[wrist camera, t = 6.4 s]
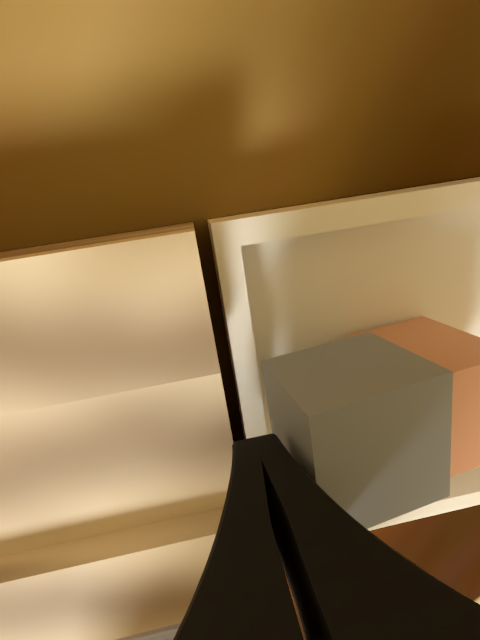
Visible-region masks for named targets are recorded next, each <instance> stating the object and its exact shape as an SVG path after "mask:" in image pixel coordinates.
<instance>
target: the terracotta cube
mask: <svg viewBox="0 0 480 640" xmlns="http://www.w3.org/2000/svg"><path fill="white" fill-rule="evenodd" d="M367 332H371V333H373V334H375V335H377V336H379V337H381V338H383V339H385V340H388V341H390V342H392V343H394V344H396V345H398V346H400V347H402V348H404V349H407V350H409V351H411V352H413V353H415V354H417V355H419V356H421V357H423V358H426V359H428V360H430V361H432V362H434V363H436V364H438V365H440V366H442V367H444V368H447V369H449V370H451V371H453V392H452V428H451V464H450V477H453V476H455V475H458V474H460V473H463V472H466V471H468V470H471V469H474V468H476V467H479V466H480V337H478V336H475V335H472V334H470V333H467V332H464V331H462V330H459V329H456V328H454V327H451V326H448V325H446V324H443V323H440V322H438V321H435V320H432V319H430V318H427V317H424V316H420V317H416V318H412V319H409V320H405V321H401V322H397V323H393V324H390V325H386V326H382V327H378V328H375V329H371V330H367V331H363V332H359V333H356V334H352V335H348V336H347V338H348V337H352V336H356V335H360V334H363V333H367Z"/></svg>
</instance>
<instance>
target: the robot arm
mask: <svg viewBox="0 0 480 640" xmlns="http://www.w3.org/2000/svg"><path fill="white" fill-rule="evenodd" d="M279 554H280V555H279ZM280 557H281V558H280ZM281 560H282V562H281ZM282 563H283V566H284V569H285V572H286V575H287V578H288V581H289V584H290V587H291V590H292V593H293V596H294V600H295V603H296V606H297V609H298V612H299V616H300V619H301V622H302V626H303V630H304V634H305V638H306V640H480V605H479V604H478V603H476V602H474V601H472V600H471V599H469V598H467V597H465V596H464V595H462V594H460V593H459V592H457V591H456V590H454V589H452V588H451V587H449V586H448V585H446V584H444V583H443V582H441V581H440V580H438V579H436V578H435V577H433V576H432V575H430V574H429V573H427V572H426V571H424V570H423V569H421V568H420V567H418V566H417V565H416V564H414V563H413V562H411V561H410V560H408V559H407V558H405V557H404V556H402V555H401V554H400V553H398V552H397V551H395V550H394V549H392V548H391V547H390V546H388V545H387V544H386V543H384V542H383V541H382V540H380V539H379V538H378V537H376V536H375V535H374V534H373V533H371V532H370V531H369V530H367V529H366V528H365V527H364V526H363V525H361V524H360V523H359V522H358V521H356V520H355V519H354V518H353V517H352V516H351V515H349V514H348V513H347V512H346V511H345V510H344V509H343V508H342V507H340V506H339V505H338V504H337V503H336V502H335V501H334V500H333V499H332V498H331V497H330V496H329V495H328V494H327V493H326V492H325V491H324V490H323V489H322V488H321V487H320V486H319V485H318V484H317V483H316V482H315V481H314V480H313V479H312V478H311V477H310V476H309V475H308V474H307V473H306V472H305V471H304V469H303V468H302V467H301V466H300V465H299V464H298V463H297V461H296V460H295V459H294V458H293V457H292V455H291V454H290V453H289V452H288V450H287V449H286V448H285V446H284V445H283V444H282V442H281V441H280V439H279V438H278V436H277V435H275V434H274V433H272V434H267V435H262V436H258V437H253V438H248V439H243V440H239V441H235V442H234V443H233V445H232V466H231V473H230V480H229V485H228V490H227V495H226V499H225V504H224V507H223V511H222V515H221V519H220V522H219V526H218V530H217V533H216V536H215V539H214V542H213V545H212V548H211V551H210V554H209V557H208V560H207V562H206V565H205V568H204V571H203V573H202V576H201V578H200V580H199V583H198V585H197V588H196V590H195V593H194V595H193V598H192V600H191V602H190V605H189V607H188V609H187V611H186V614H185V616H184V618H183V620H182V622H181V623H179V624H175V625H171V626H167V627H163V628H159V629H155V630H151V631H147V632H143V633H139V634H135V635H131V636H127V637H123V638H119V639H115V640H304V639H303V636H302V632H301V629H300V626H299V622H298V619H297V615H296V612H295V608H294V605H293V601H292V598H291V594H290V591H289V587H288V584H287V580H286V576H285V573H284V569H283V566H282Z"/></svg>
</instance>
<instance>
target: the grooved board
mask: <svg viewBox="0 0 480 640" xmlns="http://www.w3.org/2000/svg"><path fill="white" fill-rule="evenodd" d="M232 445H233V437H232V432H231V426H230V421H229V415H228V410H227V404H226V399H225V393H224V388H223V382H222V377H221V371H220V366H219V360H218V355H217V349H216V344H215V338H214V333H213V327H212V322H211V316H210V311H209V305H208V300H207V294H206V289H205V283H204V278H203V272H202V267H201V261H200V256H199V250H198V245H197V239H196V234H195V229H194V223H193V222H189V223H183V224H177V225H170V226H164V227H158V228H151V229H145V230H138V231H132V232H126V233H119V234H113V235H107V236H100V237H94V238H88V239H81V240H75V241H68V242H62V243H56V244H49V245H43V246H37V247H30V248H24V249H17V250H11V251H5V252H0V640H115V639H119V638H123V637H127V636H131V635H135V634H139V633H143V632H147V631H151V630H155V629H159V628H163V627H167V626H171V625H175V624H179V623H181V622H182V620H183V618H184V616H185V614H186V611H187V609H188V607H189V605H190V602H191V600H192V598H193V595H194V593H195V590H196V588H197V585H198V583H199V580H200V578H201V576H202V573H203V571H204V568H205V565H206V562H207V560H208V557H209V554H210V551H211V548H212V545H213V542H214V539H215V536H216V533H217V530H218V526H219V522H220V519H221V515H222V511H223V507H224V504H225V499H226V495H227V490H228V485H229V480H230V473H231V466H232Z"/></svg>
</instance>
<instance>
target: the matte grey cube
mask: <svg viewBox="0 0 480 640" xmlns="http://www.w3.org/2000/svg"><path fill="white" fill-rule="evenodd" d="M261 366H262V372H263V378H264V385H265V391H266V398H267V404H268V410H269V417H270V423H271V429H272V433H274V434H275V435H277V436H278V438H279V439H280V441H281V442H282V444H283V445H284V446H285V448H286V449H287V450H288V452H289V453H290V454H291V455H292V457H293V458H294V459H295V460H296V461H297V463H298V464H299V465H300V466H301V467H302V468H303V469H304V471H305V472H306V473H307V474H308V475H309V476H310V477H311V478H312V479H313V480H314V481H315V482H316V483H317V484H318V485H319V486H320V487H321V488H322V489H323V490H324V491H325V492H326V493H327V494H328V495H329V496H330V497H331V498H332V499H333V500H334V501H335V502H336V503H337V504H338V505H339V506H340V507H342V508H343V509H344V510H345V511H346V512H347V513H348V514H349V515H351V516H352V517H353V518H354V519H355V520H356V521H358V522H359V523H360V524H361V525H363V526H364V527H365V528H366V529H368V528H371V527H373V526H376V525H378V524H381V523H383V522H386V521H388V520H391V519H393V518H396V517H398V516H401V515H403V514H406V513H408V512H411V511H414V510H416V509H419V508H421V507H424V506H426V505H429V504H431V503H434V502H436V501H439V500H441V499H444V498H446V497H449V496H450V464H451V428H452V392H453V371H451V370H449V369H447V368H444V367H442V366H440V365H438V364H436V363H434V362H432V361H430V360H428V359H426V358H423V357H421V356H419V355H417V354H415V353H413V352H411V351H409V350H407V349H404V348H402V347H400V346H398V345H396V344H394V343H392V342H390V341H388V340H385V339H383V338H381V337H379V336H377V335H375V334H373V333H371V332H367V333H363V334H360V335H356V336H352V337H348V338H344V339H341V340H337V341H333V342H329V343H326V344H322V345H318V346H314V347H311V348H307V349H303V350H299V351H296V352H292V353H288V354H284V355H281V356H277V357H273V358H269V359H266V360H262V361H261Z"/></svg>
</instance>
